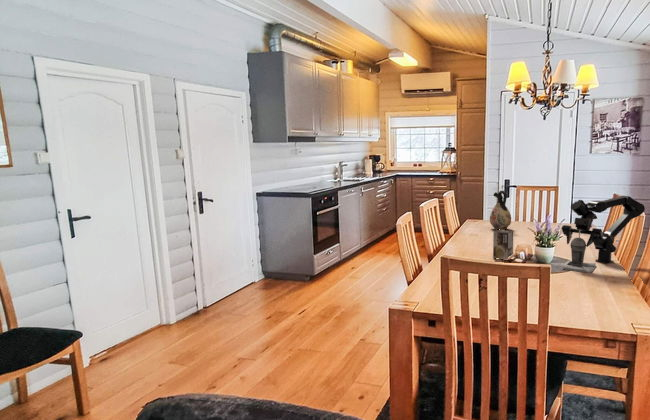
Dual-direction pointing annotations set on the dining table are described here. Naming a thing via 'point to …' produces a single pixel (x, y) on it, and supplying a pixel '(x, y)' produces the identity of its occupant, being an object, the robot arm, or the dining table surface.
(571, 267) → the flared docking tray
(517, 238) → the dining table surface
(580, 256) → the beverage cup
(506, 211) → the ceramic jug
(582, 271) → the gray raised edge tray
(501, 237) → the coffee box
